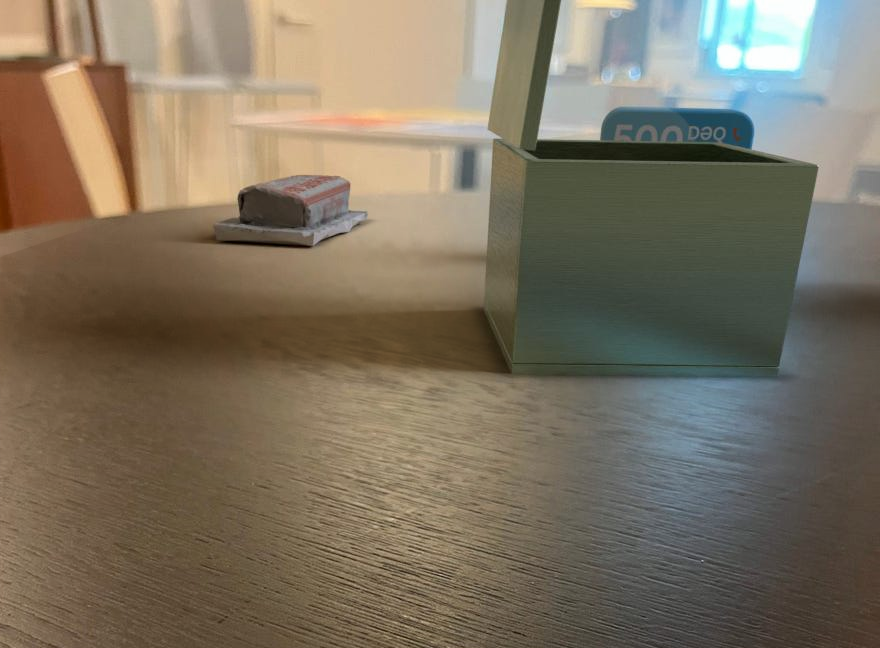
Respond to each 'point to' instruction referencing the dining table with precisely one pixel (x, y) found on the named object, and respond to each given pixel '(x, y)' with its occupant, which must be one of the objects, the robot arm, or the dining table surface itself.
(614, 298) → the bin
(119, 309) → the dining table surface
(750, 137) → the data package
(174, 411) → the dining table surface
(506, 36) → the bin lid
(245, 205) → the packaged product
